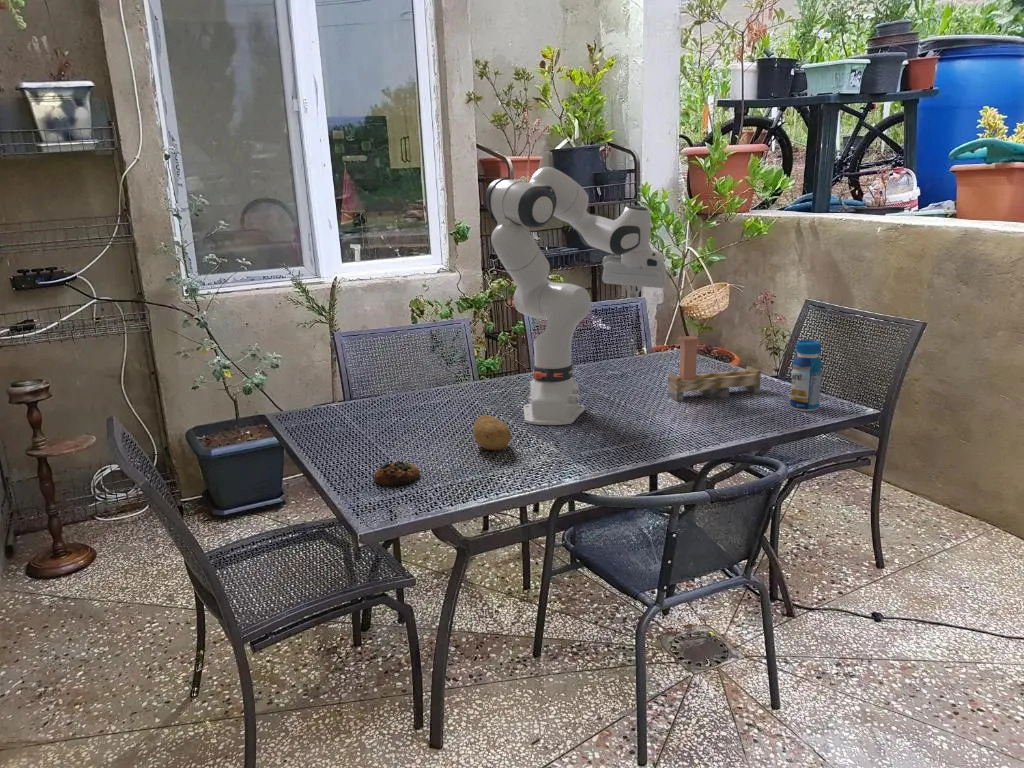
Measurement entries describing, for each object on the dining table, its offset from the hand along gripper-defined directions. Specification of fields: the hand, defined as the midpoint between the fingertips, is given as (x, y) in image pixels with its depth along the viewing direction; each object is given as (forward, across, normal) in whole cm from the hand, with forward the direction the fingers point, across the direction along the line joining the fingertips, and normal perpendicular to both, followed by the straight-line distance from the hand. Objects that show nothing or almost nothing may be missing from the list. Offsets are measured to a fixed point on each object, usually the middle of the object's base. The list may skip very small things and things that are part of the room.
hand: (633, 297), depth 240 cm
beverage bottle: (+23, +55, -17) cm, 62 cm away
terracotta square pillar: (+22, +20, -12) cm, 32 cm away
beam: (+27, +28, -9) cm, 40 cm away
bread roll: (+13, -38, -96) cm, 104 cm away
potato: (+17, -23, -71) cm, 77 cm away
